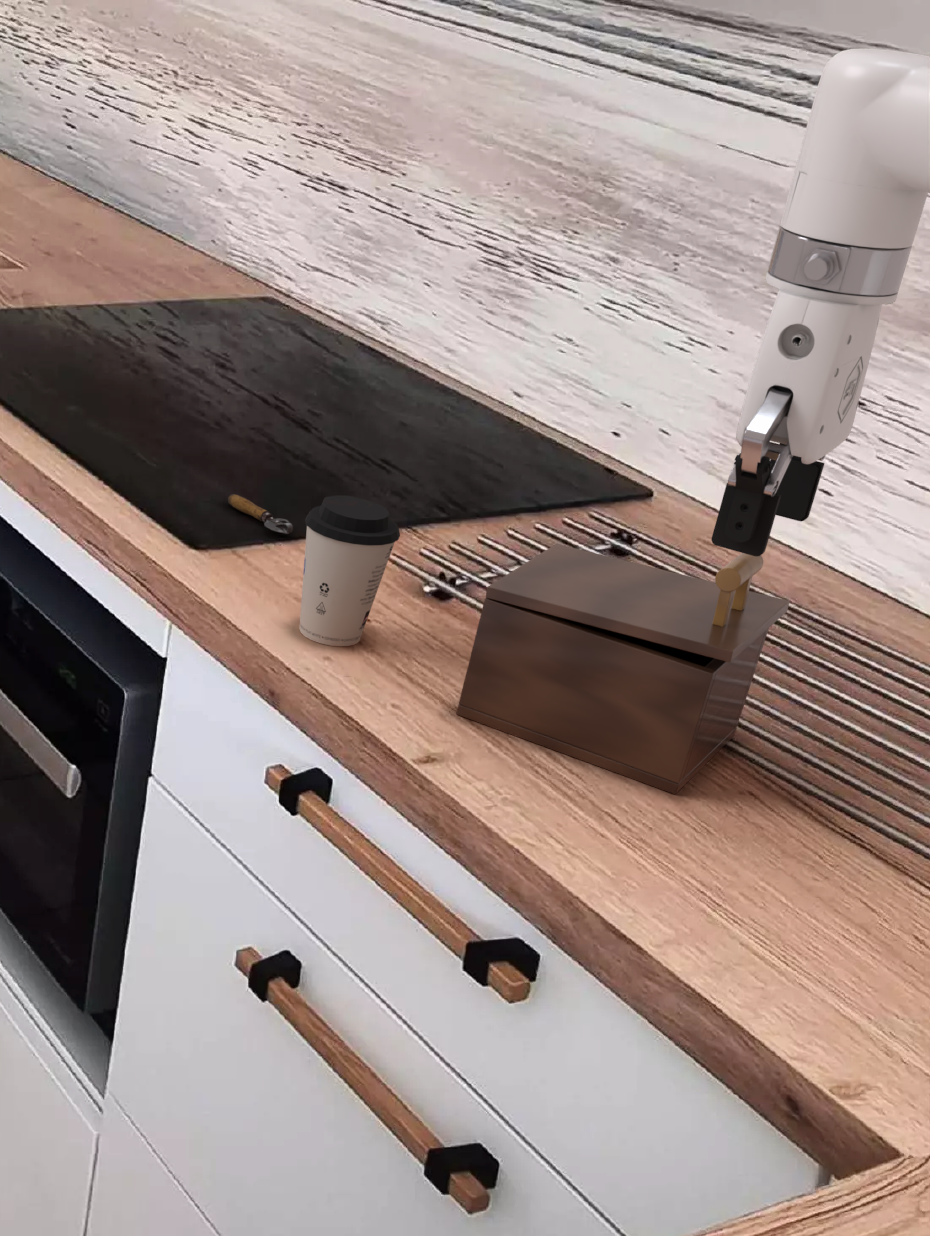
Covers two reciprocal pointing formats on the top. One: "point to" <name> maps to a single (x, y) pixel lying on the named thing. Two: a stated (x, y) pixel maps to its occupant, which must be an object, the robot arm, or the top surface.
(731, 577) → the caddy lid
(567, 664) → the box
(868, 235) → the robot arm
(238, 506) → the can opener
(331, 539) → the coffee cup
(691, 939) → the top surface
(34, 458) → the top surface
